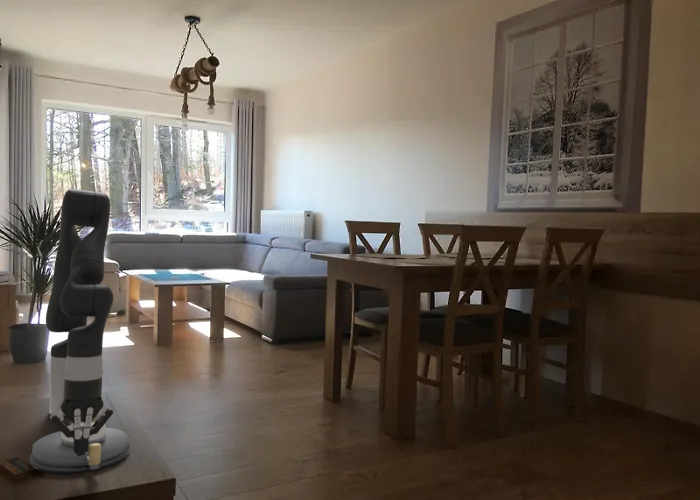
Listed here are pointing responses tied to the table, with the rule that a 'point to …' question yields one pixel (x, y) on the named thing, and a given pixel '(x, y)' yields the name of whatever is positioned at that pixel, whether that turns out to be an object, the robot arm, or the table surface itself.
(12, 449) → the table surface
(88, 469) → the turntable base
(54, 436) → the turntable
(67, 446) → the cover
